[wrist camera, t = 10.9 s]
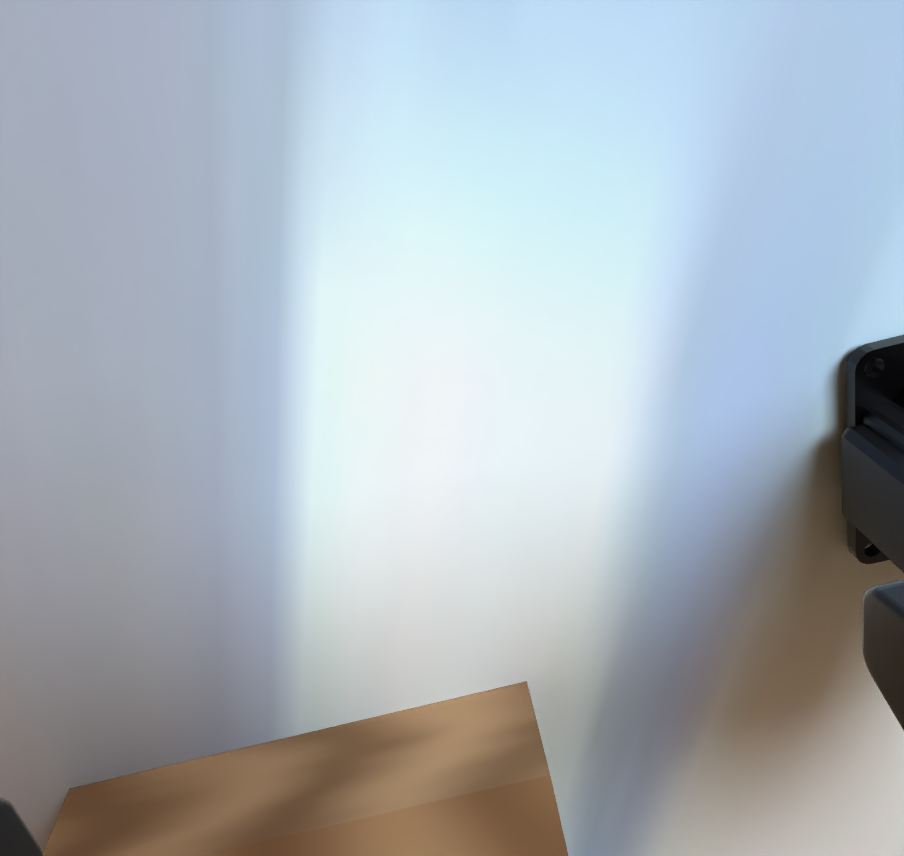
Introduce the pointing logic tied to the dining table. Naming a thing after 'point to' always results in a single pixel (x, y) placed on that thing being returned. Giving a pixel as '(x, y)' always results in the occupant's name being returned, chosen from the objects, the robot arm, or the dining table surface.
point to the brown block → (340, 792)
